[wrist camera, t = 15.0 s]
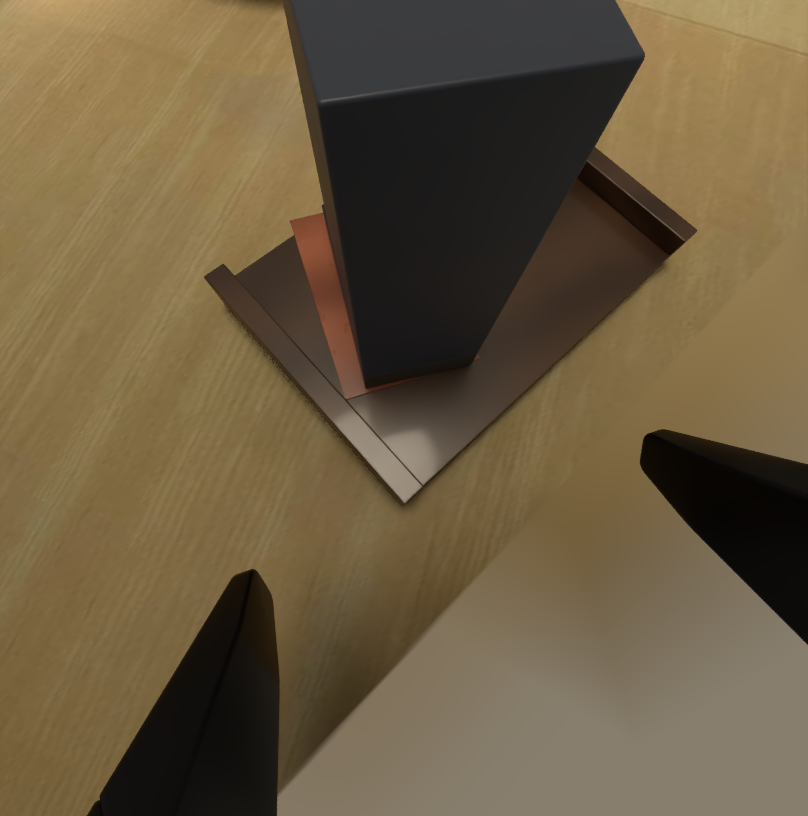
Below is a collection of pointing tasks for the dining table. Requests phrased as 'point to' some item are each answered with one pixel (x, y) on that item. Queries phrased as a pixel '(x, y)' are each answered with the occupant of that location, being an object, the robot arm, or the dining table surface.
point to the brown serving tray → (502, 349)
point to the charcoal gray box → (448, 154)
